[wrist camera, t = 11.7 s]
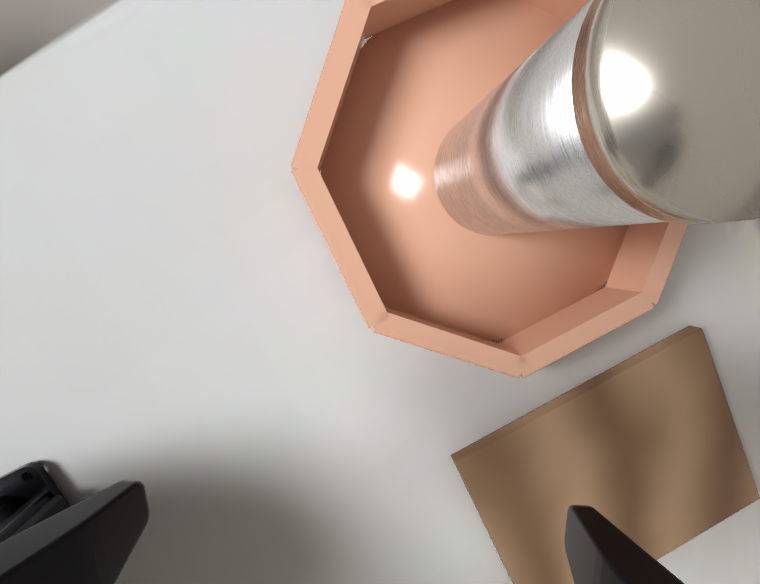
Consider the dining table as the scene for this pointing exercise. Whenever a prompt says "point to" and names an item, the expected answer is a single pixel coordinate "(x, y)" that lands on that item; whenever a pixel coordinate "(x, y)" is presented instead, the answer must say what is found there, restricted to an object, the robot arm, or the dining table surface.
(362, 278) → the terracotta bowl
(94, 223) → the dining table surface
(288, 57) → the dining table surface
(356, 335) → the dining table surface
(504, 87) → the polished metal canister
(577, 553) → the robot arm
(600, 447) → the walnut board
